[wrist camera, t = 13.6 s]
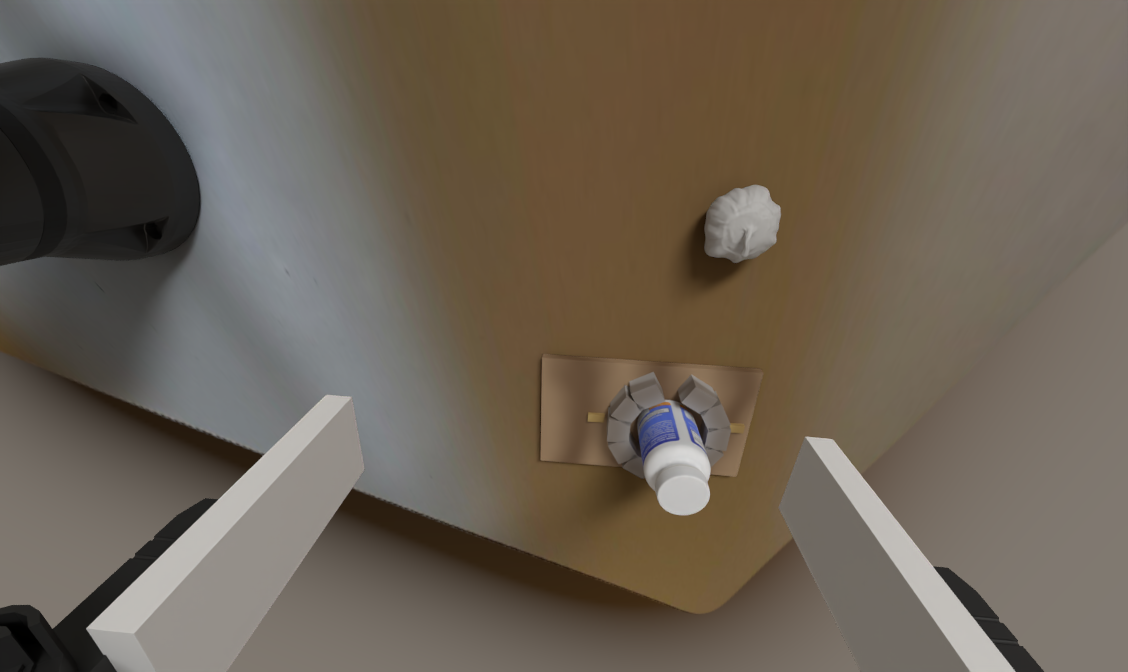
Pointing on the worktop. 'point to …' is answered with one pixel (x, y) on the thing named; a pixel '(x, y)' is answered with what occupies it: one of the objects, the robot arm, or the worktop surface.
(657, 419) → the pill bottle
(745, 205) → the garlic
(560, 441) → the socket board
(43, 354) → the worktop surface
